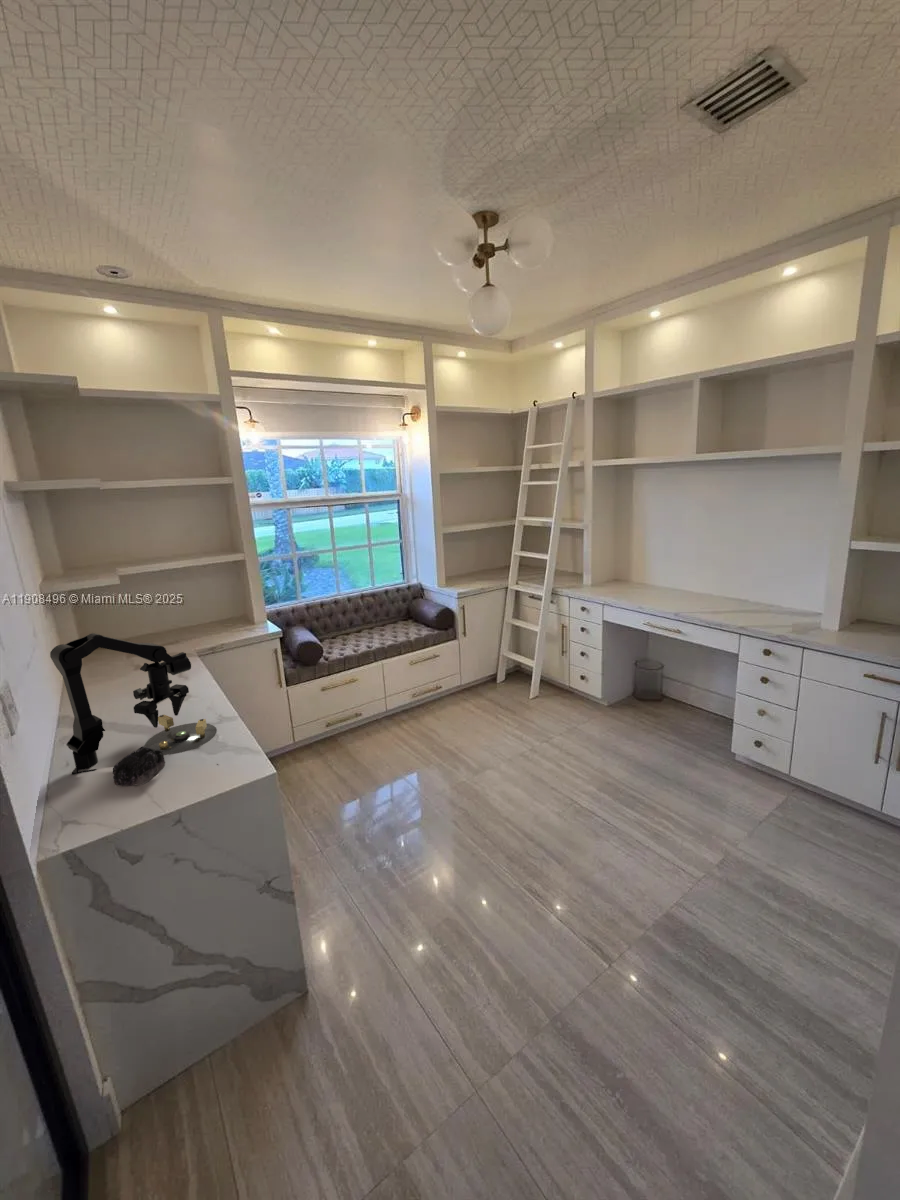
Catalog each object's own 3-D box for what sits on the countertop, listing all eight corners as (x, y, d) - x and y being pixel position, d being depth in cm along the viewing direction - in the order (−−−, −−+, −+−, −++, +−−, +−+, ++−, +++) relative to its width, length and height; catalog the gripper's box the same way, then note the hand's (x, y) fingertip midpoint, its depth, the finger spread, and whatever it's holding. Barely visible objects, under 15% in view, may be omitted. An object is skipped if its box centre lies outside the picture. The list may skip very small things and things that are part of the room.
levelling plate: (211, 751, 164) (210, 742, 163) (135, 763, 159) (134, 753, 158) (221, 721, 185) (220, 713, 184) (155, 731, 179) (154, 723, 179)
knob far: (175, 730, 176) (172, 717, 175) (168, 733, 174) (166, 720, 173) (166, 727, 179) (163, 714, 178) (159, 729, 177) (157, 716, 176)
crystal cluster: (109, 778, 152) (100, 750, 149) (158, 757, 161) (150, 730, 158) (122, 799, 143) (112, 770, 140) (172, 775, 152) (165, 747, 149)
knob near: (204, 739, 169) (202, 725, 168) (197, 740, 168) (195, 726, 167) (207, 732, 174) (205, 718, 173) (200, 733, 174) (198, 719, 172)
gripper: (161, 668, 183) (167, 708, 187) (116, 688, 165) (124, 731, 169) (186, 670, 180) (193, 710, 184) (143, 691, 163) (152, 734, 166)
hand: (166, 721), depth 176 cm, fingers open, 9 cm apart
